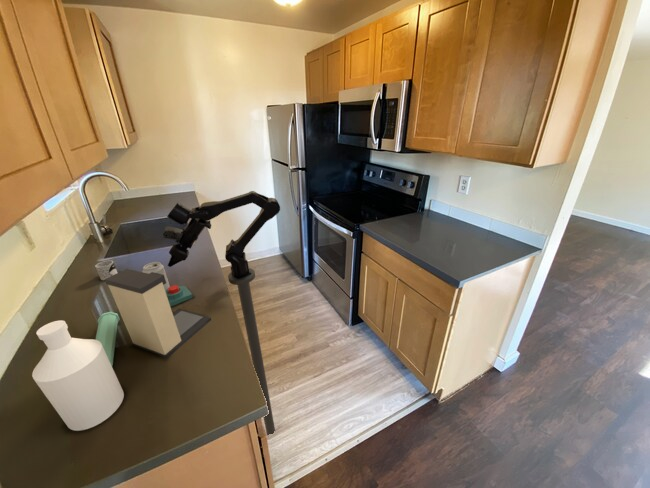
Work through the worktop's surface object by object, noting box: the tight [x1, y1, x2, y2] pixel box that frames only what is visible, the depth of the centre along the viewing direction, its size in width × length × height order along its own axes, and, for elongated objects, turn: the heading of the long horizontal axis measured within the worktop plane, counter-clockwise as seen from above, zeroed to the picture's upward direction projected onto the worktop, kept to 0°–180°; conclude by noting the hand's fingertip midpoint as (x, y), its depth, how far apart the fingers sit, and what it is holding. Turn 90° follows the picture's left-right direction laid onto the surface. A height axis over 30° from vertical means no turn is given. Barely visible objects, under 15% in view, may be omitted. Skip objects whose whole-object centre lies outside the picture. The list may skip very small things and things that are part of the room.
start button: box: [168, 284, 179, 294], centre depth 107 cm, size 4×4×2 cm
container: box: [94, 311, 121, 367], centre depth 85 cm, size 6×6×25 cm
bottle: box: [31, 319, 125, 432], centre depth 63 cm, size 12×12×25 cm
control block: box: [165, 285, 194, 307], centre depth 108 cm, size 10×9×4 cm
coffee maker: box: [103, 268, 212, 359], centre depth 86 cm, size 18×15×24 cm
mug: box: [94, 259, 119, 281], centre depth 127 cm, size 10×7×7 cm
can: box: [141, 261, 171, 291], centre depth 112 cm, size 8×8×12 cm
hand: (171, 260), depth 110 cm, fingers open, 9 cm apart
